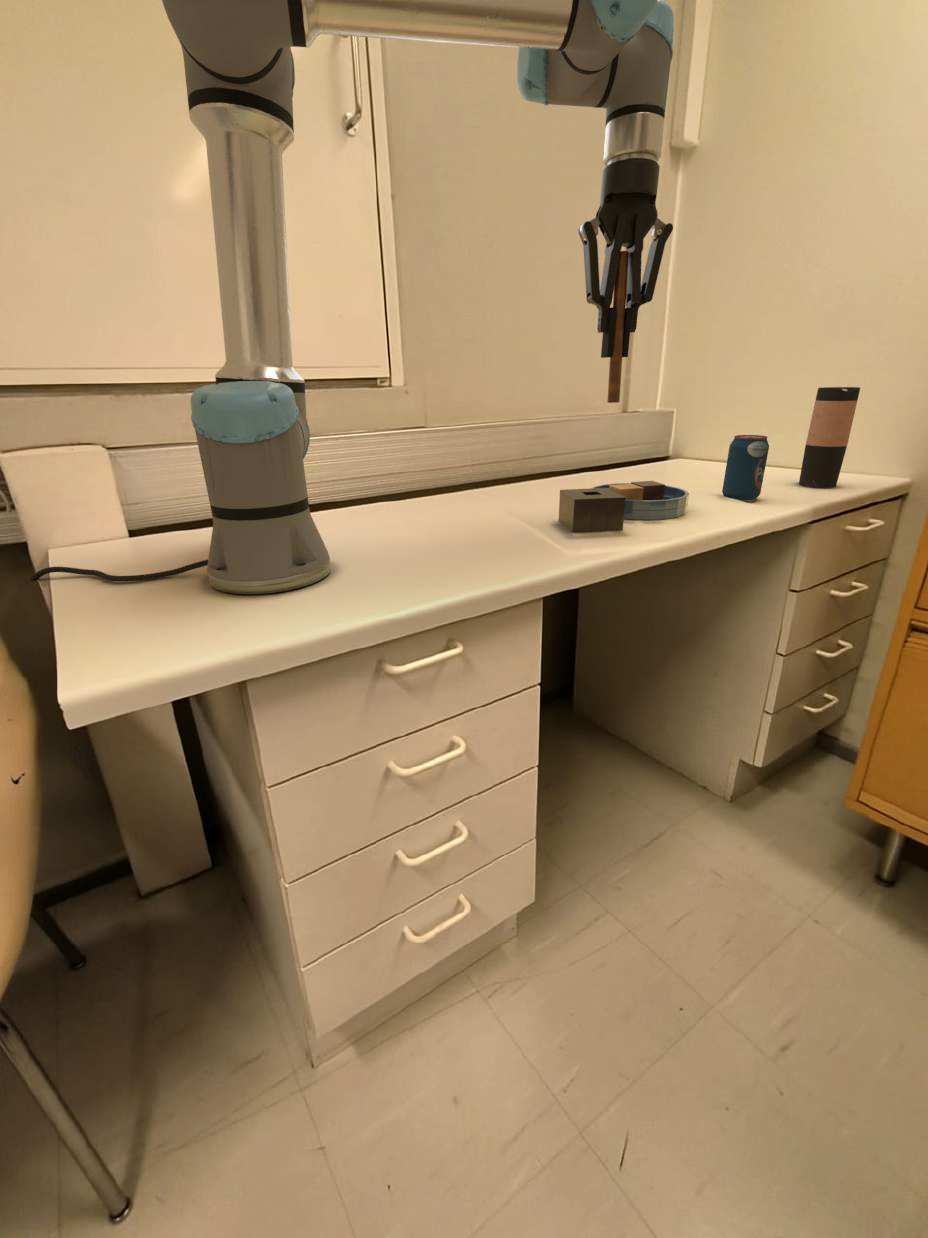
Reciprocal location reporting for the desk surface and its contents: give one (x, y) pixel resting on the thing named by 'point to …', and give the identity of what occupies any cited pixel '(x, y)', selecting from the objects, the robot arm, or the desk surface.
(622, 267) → the stirring stick
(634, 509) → the bowl
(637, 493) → the pine block
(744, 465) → the soda can
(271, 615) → the desk surface
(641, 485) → the walnut block
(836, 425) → the travel mug
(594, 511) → the stand
